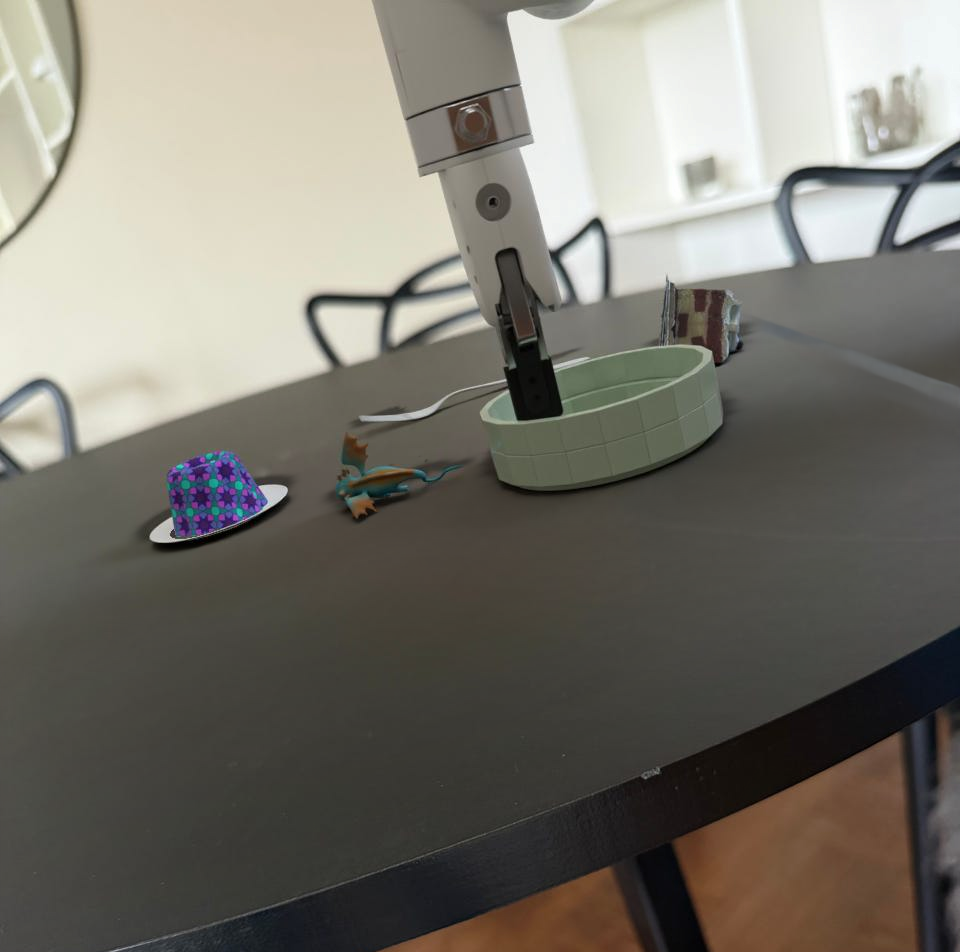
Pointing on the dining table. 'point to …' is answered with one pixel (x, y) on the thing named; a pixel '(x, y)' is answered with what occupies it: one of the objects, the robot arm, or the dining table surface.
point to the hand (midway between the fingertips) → (540, 418)
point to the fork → (434, 407)
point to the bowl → (609, 419)
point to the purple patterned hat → (213, 497)
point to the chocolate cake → (701, 320)
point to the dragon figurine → (371, 478)
